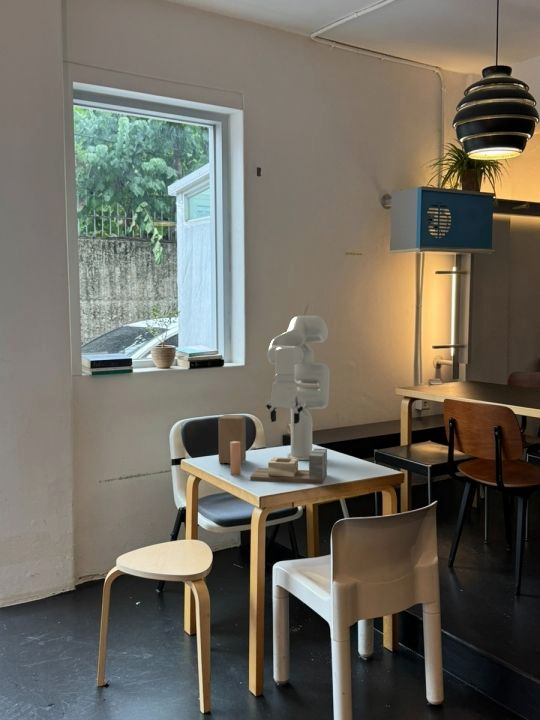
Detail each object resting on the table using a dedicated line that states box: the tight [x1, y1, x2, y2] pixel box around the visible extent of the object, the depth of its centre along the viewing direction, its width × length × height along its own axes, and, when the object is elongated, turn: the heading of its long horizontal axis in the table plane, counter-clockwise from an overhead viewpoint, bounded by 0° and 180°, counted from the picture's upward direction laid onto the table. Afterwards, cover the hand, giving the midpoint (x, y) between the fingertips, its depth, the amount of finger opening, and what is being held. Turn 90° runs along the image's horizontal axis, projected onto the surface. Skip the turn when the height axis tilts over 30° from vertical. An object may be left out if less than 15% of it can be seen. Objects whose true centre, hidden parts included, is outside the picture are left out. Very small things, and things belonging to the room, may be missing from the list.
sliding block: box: [267, 456, 299, 477], centre depth 272 cm, size 10×10×5 cm
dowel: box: [230, 441, 242, 476], centre depth 277 cm, size 4×4×13 cm
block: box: [217, 414, 247, 465], centre depth 298 cm, size 10×10×20 cm
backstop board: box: [249, 448, 328, 485], centre depth 271 cm, size 14×28×10 cm, turn 78°
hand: (284, 422), depth 270 cm, fingers open, 9 cm apart
